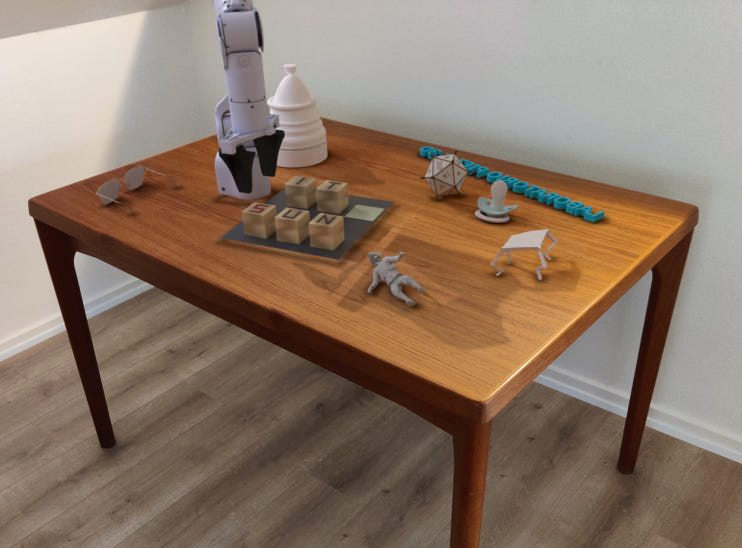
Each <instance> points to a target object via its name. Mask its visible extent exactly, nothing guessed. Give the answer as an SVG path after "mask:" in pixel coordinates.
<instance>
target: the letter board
mask: <svg viewBox="0 0 742 548" xmlns="http://www.w3.org/2000/svg"><path fill="white" fill-rule="evenodd" d="M394 203H395V201H392V200H385V199H378V198H373V197H367V196H359V195H352V194H349V184H348V182H341V181H335V180H328V179H326V180H324V181H323V182H322V183H321V184H320V185H317V178H315V177H308V176H301V175H295V176H293V177H292V178H290V179H289V180H288V181H287V182H285V183H284V188H283V189H281V190H280V191H279V192H278V193H276V194H275V195H274V196H272V197H271V198H269V200H268V201H266V202H265V203H264V204H269V205H275V206H276V210H277V216H276V217H275V226H276V231H275V232H274V233H273V234H271V235H270V236H269V237H268V238H267V239H264V238H259V237H253V236H248V235H245V234H244V226H243V220H241V221H240V222H239V223H237V224H236V225H235V226H233V227H232V228H230V229H229V230H228V231H227V232H225V233H224V234H222V236H220V237H219V238H220V239H222V240H228V241H232V242H233V241H234V242H239V243H245V244H250V245H255V246H261V247H266V248H270V249H277V250H283V251H288V252H293V253H297V254H298V253H299V254H304V255H310V256H316V257H320V258H325V259H331V260H336V261H339V260H340V259H341V258H342V257H343V256H344V255H345V254H346V253H347V252H348V251H349V250H350V249H351V248H352V247H353V246H354V245H355V244H356V243H357V242H358V241H359V240H360V239H361V237H362V236H363V235H364V234H365V233H367V231H368V230H369V229H370V228H371V227H372V226H373V225H374V224H375V223H376V222H377V221H378V220H379V219H380V218H381V217H382V216H383V215H384V213H386V211H388V209H390V208H391V206H392V205H393V204H394Z"/></svg>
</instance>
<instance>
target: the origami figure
mask: <svg viewBox="0 0 742 548" xmlns="http://www.w3.org/2000/svg"><path fill="white" fill-rule="evenodd" d="M546 237H547V238H549V240H551V241H553V243H551V244H550V246H549V247H548V248H547V249H546V250H545V251H544V253H543V251H542V245H543V243H544V241H545V239H546ZM558 243H559V240H557V238H556V237H555V236H554V235H553V234H552V233H551V229H548V228H547V229H546V228H545V229H536V230H528V231H525V232H520V233H517V234H512V235H510V237H509V239H507V241H506V242H505V243H504V245H502V247H500V249H499V252H498V253H497V254H496V256H495V257H494V259H493V260H492V261H491V262H490V263H489V266H491V267H493V268H495V269H497V270H499V272H498V273H496V274H495V276H499V275H500V274H502V273H503V272H504V269H502V268H501V267H499V266H497V265H495V263H496V262H497V261H498V260H499V259H500V258H501V257H502V255H504V254H505V252H506V255H507V257H508V259H509V261H508V262H507V265H510V264H511V263H512V261H513V260H514V259H513V256H512V253H511V252H518V251H537V253H538V256H539V259H540V261H541V265H540V266H538V267H536V269H535V273H536V275H537V278H538V280H540V281H541V280H542V279H543V276H542V274H541V272H540V271H541V270H546V269H547V268H548V263H547V261H551V260H552V258H551V257H550V256H549V255H548V254H547V253H548V252H549V251H551V249H553V248H554V247H555V246H556V245H557V244H558ZM545 258H546V259H547V260H546V259H545Z"/></svg>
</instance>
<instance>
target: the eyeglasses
mask: <svg viewBox="0 0 742 548" xmlns="http://www.w3.org/2000/svg"><path fill="white" fill-rule="evenodd" d="M145 170H148V171H150V172H153V173H156V174H159V175H161V176H164V177H166V178H168V179H170V180H171V181H172V183H174V185H175V187H176V189H178V188H179V187H178V185H177V184H176V182H175V180H174V179H173V178H172V177H171V176H168V175H165V174H163V173H160V172H157V171H155V170H153V169H150V168H148V167H145V166H144V165H138V166H135V167H134V168H131V169H129V170H128V171H127V172H126V173H125V174H124V177H122V178H121V179H118V178H113V179H110V180H108V181H106V182H104V183H103V184H102V185H100V186H99V187H98V188H97V191H96V192H95V193H96V195H97V196H98V197H99V200H100V203H101V204H102V205H109V204H110V203H112V202H115V203H117V204H120V205H123V206H125V207H126V208H127V209H128V210H129V212H130V213H131V214H132V215H135V214H134V213H133V211H132V210H131V209H130V208H129V206H128V205H126V204H125V203H122V202H120V201H117V200H116V199H118V197H119V195H120V192H122V187H123V185H122V183H120V182H121V181H122V180H124V183H125V186H126V188H127V189H128V190H129V191H132V190H135V189H137V188H139V187H141V185H143V184H144V180H145Z"/></svg>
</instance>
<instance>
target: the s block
mask: <svg viewBox="0 0 742 548" xmlns="http://www.w3.org/2000/svg"><path fill="white" fill-rule="evenodd" d="M276 216H277V210H276V206H275V205H269V204H265V203H262V202H255V201H254V202H253V203H251V204H250V205H249V206H247V207H246V208H245V209H243V210H242V211H241V219H242V221H243V226H244V234H245V235H248V236H253V237H259V238H264V239H267V238H268V237H269V236H270V235H271V234H273V233H274V232H275V231H276V226H275V217H276Z"/></svg>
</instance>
